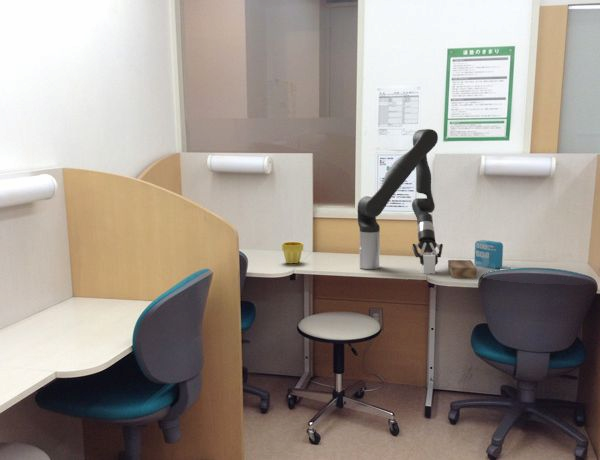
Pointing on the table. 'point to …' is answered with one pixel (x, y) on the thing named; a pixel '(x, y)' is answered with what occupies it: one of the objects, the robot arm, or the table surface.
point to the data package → (488, 254)
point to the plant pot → (292, 251)
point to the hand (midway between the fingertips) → (429, 264)
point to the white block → (428, 264)
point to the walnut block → (461, 269)
